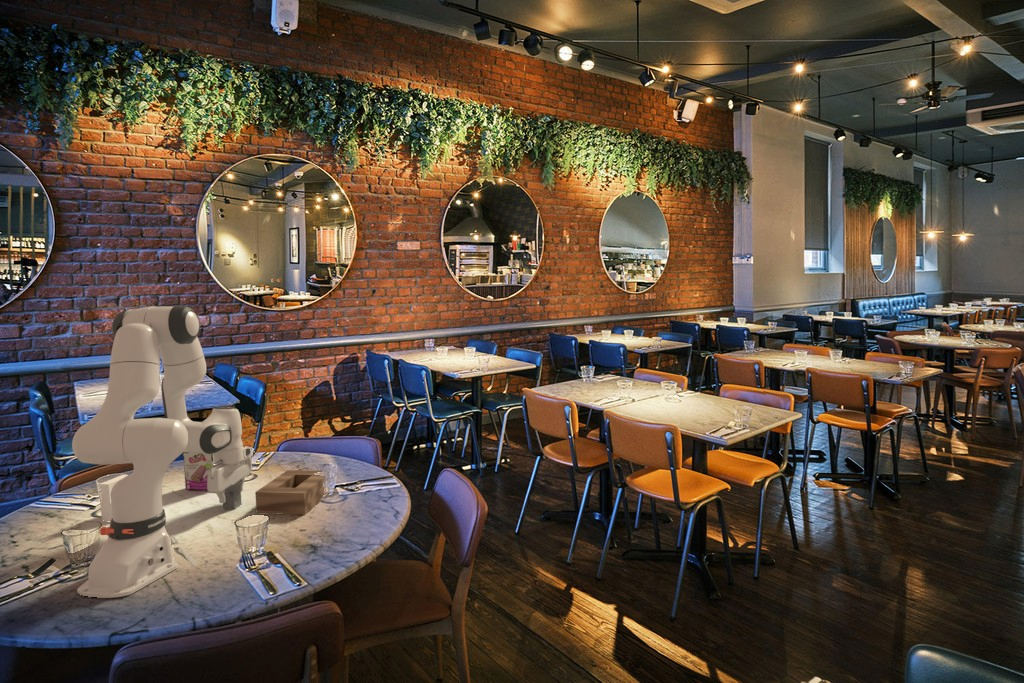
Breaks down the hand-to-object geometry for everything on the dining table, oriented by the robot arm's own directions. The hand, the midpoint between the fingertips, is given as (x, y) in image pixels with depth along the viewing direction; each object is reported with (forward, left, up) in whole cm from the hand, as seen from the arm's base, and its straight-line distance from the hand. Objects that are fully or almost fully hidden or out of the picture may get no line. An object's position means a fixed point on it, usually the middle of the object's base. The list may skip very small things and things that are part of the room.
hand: (231, 497), depth 202 cm
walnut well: (+6, -19, -3) cm, 20 cm away
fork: (-33, -5, -4) cm, 34 cm away
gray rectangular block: (0, 0, -3) cm, 3 cm away
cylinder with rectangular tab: (-10, +32, -4) cm, 34 cm away
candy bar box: (+16, +20, -4) cm, 26 cm away
